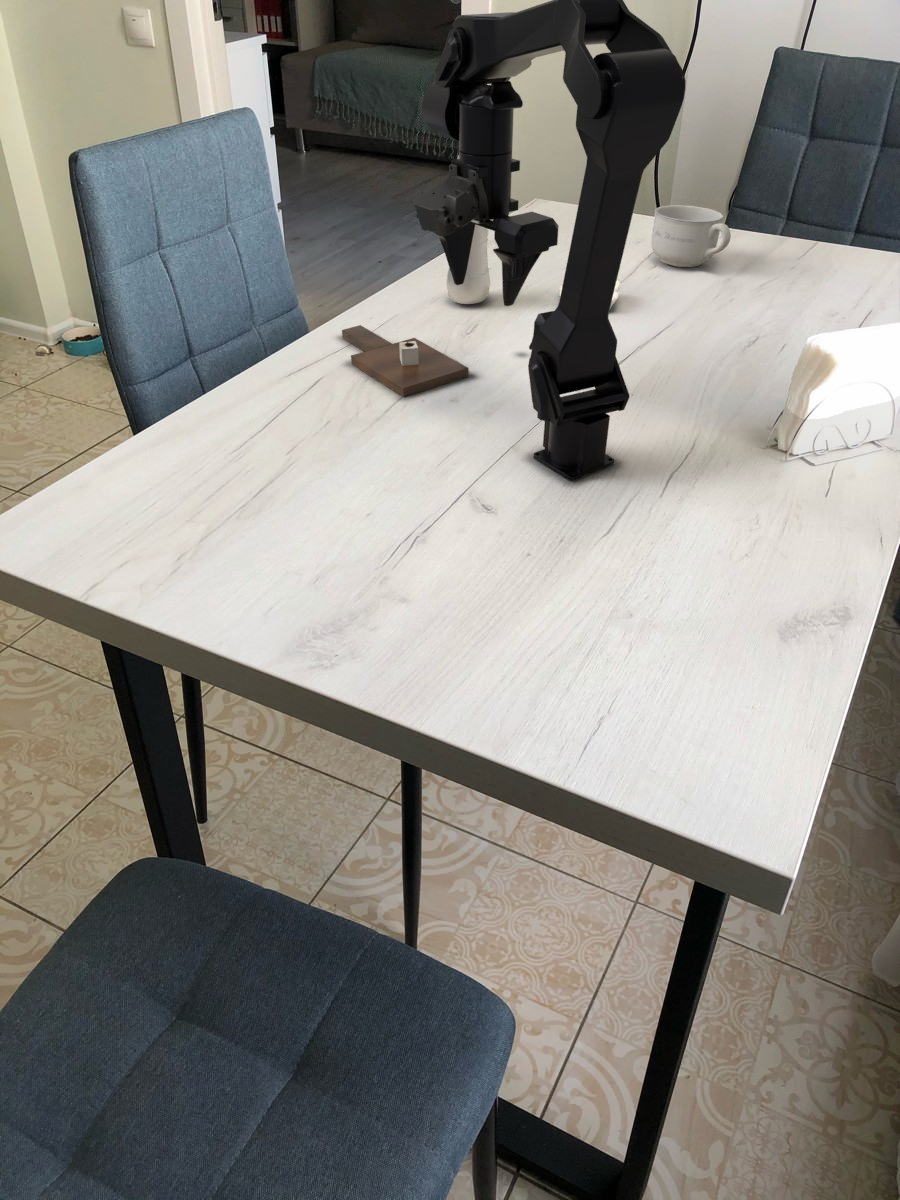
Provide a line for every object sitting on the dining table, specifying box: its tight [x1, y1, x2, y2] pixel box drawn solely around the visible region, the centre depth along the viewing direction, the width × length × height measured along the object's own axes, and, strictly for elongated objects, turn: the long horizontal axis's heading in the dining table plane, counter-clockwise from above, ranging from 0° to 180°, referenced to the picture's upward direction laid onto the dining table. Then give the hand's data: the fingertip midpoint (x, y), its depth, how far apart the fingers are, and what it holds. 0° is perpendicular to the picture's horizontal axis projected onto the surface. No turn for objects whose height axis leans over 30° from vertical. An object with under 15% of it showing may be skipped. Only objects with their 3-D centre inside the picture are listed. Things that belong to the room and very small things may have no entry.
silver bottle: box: [445, 154, 491, 305], centre depth 134 cm, size 6×7×20 cm
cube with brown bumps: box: [398, 341, 419, 366], centre depth 119 cm, size 2×2×2 cm
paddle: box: [341, 324, 469, 398], centre depth 123 cm, size 20×10×1 cm, turn 37°
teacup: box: [651, 204, 732, 268], centre depth 151 cm, size 14×11×8 cm
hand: (483, 294), depth 110 cm, fingers open, 9 cm apart
